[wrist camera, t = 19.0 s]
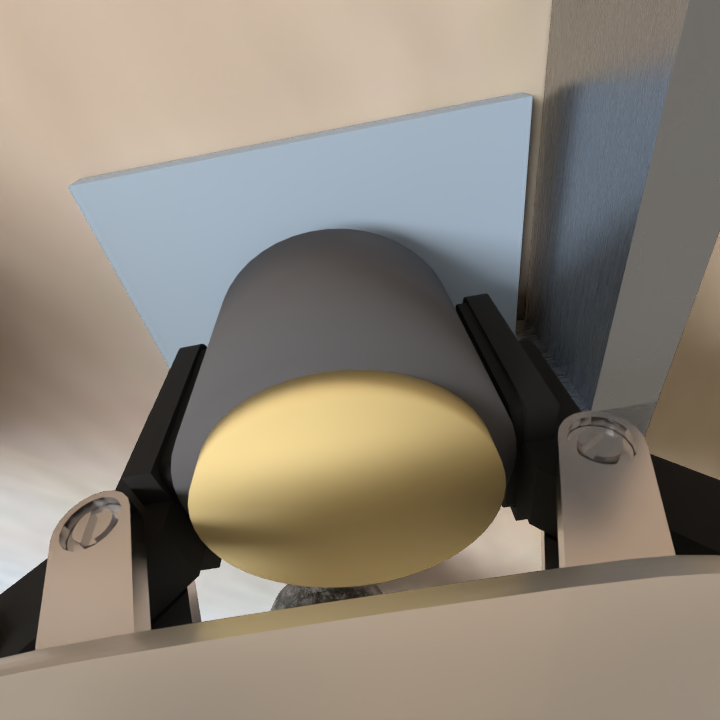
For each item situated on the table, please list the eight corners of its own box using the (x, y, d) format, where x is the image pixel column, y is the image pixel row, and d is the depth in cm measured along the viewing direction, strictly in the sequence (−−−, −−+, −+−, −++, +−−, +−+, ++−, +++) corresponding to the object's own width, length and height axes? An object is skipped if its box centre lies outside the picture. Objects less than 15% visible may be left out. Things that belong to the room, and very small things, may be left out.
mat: (502, 414, 15) (508, 426, 15) (231, 460, 16) (228, 473, 15) (521, 92, 9) (532, 95, 9) (79, 178, 10) (67, 186, 9)
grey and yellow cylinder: (457, 402, 13) (520, 568, 9) (262, 439, 13) (239, 615, 9) (446, 203, 9) (546, 333, 5) (176, 259, 9) (76, 424, 5)
